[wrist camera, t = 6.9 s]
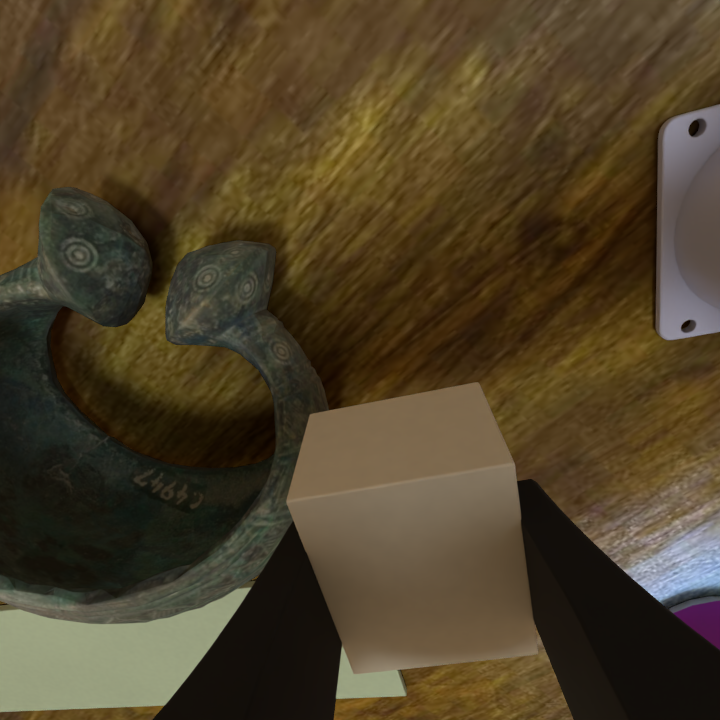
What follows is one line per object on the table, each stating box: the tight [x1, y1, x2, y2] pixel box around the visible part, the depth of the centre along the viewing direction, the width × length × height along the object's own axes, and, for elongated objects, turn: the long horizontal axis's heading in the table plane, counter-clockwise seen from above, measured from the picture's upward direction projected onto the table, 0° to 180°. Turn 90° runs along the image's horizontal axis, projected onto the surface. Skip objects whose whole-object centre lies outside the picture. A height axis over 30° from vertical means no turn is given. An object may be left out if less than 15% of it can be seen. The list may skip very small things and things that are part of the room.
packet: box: [286, 382, 538, 674], centre depth 10 cm, size 4×5×3 cm
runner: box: [0, 581, 407, 712], centre depth 32 cm, size 44×12×1 cm, turn 105°
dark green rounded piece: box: [0, 187, 329, 624], centre depth 16 cm, size 15×15×10 cm
